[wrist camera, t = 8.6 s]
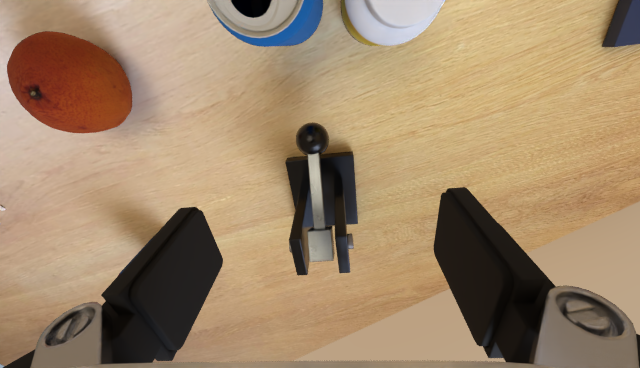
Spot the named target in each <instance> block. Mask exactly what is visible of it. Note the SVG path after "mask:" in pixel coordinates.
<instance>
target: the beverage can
mask: <svg viewBox="0 0 640 368" xmlns="http://www.w3.org/2000/svg"><path fill="white" fill-rule="evenodd" d="M207 2H208V3H209V6H210V8H211V9H212V11H213V13H214V15H215V16H216V17H217V19H218V20H219V22H220V23H221V24H222V25H223V26H224V27H225V28H226V29H227V30H228V31H229V32H230V33H231V34H233V35H234V36H235V37H237V38H238V39H240V40H242V41H244V42H246V43H249V44H252V45H256V46H264V47H266V46H291V45H297V44H300V43H302V42H304V41H306V40H307V39H308V38H309V37H310V36H311V35H312V34H313V33H314V32H315V30H316V29H317V27H318V25H319V22H320V20H321V16H322V11H323V0H207Z"/></svg>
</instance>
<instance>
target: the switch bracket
mask: <svg viewBox="0 0 640 368" xmlns="http://www.w3.org/2000/svg"><path fill="white" fill-rule="evenodd" d="M320 162H321V174H322V185H323V197H324V208H325V220H326V226H333V225H335V240H336V248H337V257H338V265H339V272H340V273H350V263H349V250H348V249H353V248H354V247H353V236H352V234H347V226H346V225H347V224H358V219H357V204H356V189H355V173H354V158H353V152H352V151H351V152H341V153H332V154H322V155H320ZM286 167H287V171H288V176H289V181H290V186H291V191H292V195H293V200H294V205H295V210H296V211H295V215H294V220H293V224H292V229H291V233H290V238H289V249H290V252H291V253H292V255H293V259H294V263H295V267H296V272H297V275H307V274H308V266H309V249H308V237H307V231H308V230H309V229H310V228H311V227H314V225H313V214H312V202H311V190H310V178H309V167H308V156H302V157H292V158H287V159H286Z"/></svg>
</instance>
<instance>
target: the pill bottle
mask: <svg viewBox="0 0 640 368" xmlns="http://www.w3.org/2000/svg"><path fill="white" fill-rule="evenodd" d="M444 2H445V0H341V13H342V18H343V22H344V25H345V27H346V29H347V31H348V32H349V33H350V35H351V36H352V37H353V38H354V39H356V40H357V41H359V42H360V43H362V44H365V45H370V46H392V45H398V44H402V43H405V42H407V41H410V40H412V39H413V38H415V37H416V36H418V35H419V34H420V33H422V32H423V31H424V30H425V29H426V28H427V27H428V26H429V25H430V24H431V23H432V21H433V20H434V19H435V17H436V16H437V14H438V12H439V11H440V9H441V7H442V5H443V3H444Z"/></svg>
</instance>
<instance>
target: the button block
mask: <svg viewBox="0 0 640 368" xmlns="http://www.w3.org/2000/svg"><path fill="white" fill-rule="evenodd" d="M634 44H640V0H619V2H618V5H617V8H616V10H615V13H614V16H613V19H612V21H611V24H610V27H609V29H608V32H607V35H606V38H605V40H604V43H603V46H602V47H618V46H626V45H634Z"/></svg>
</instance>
